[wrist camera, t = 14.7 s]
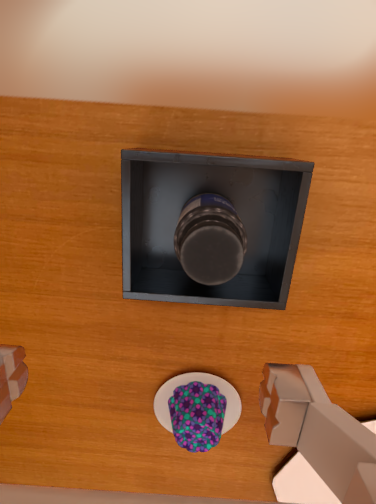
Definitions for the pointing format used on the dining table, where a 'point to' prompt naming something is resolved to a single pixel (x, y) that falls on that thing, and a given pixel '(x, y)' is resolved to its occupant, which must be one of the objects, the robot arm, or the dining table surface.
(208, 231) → the pill bottle
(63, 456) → the dining table surface
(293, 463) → the plate
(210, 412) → the pudding
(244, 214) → the open box
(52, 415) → the dining table surface
